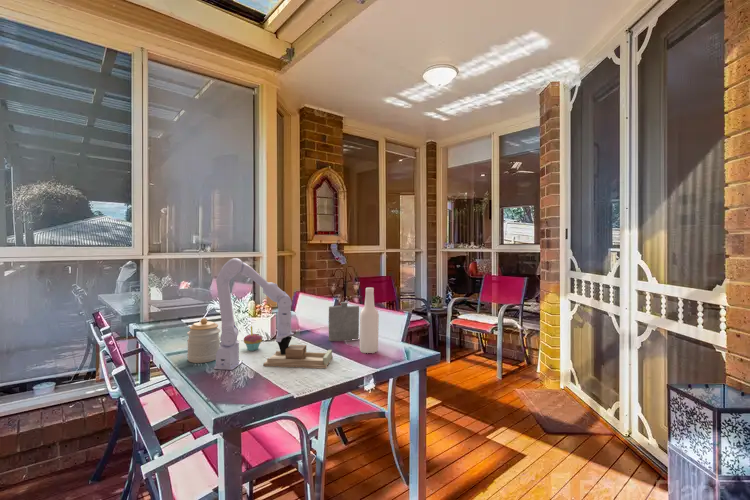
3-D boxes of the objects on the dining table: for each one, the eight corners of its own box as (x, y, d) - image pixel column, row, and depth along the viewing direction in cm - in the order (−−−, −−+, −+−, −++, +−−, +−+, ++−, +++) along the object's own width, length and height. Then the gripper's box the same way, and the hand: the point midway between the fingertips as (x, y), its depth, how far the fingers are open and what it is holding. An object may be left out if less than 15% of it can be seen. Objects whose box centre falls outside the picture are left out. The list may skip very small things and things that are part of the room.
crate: (301, 361, 154) (301, 349, 153) (285, 361, 154) (285, 349, 154) (306, 356, 161) (306, 345, 160) (290, 355, 161) (290, 344, 161)
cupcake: (258, 352, 170) (258, 326, 170) (240, 351, 170) (240, 325, 170) (264, 346, 179) (264, 322, 178) (247, 346, 179) (247, 321, 179)
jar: (207, 364, 152) (207, 322, 152) (180, 362, 155) (180, 320, 154) (226, 355, 165) (226, 316, 164) (200, 353, 167) (200, 314, 167)
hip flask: (358, 338, 197) (358, 301, 196) (359, 340, 193) (359, 302, 192) (328, 339, 193) (328, 301, 193) (329, 341, 189) (329, 302, 189)
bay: (325, 368, 149) (325, 358, 149) (263, 365, 151) (263, 356, 151) (332, 357, 163) (332, 348, 163) (275, 355, 165) (275, 346, 165)
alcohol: (355, 350, 175) (356, 287, 174) (370, 347, 180) (371, 286, 179) (366, 355, 168) (367, 289, 167) (381, 351, 173) (382, 288, 172)
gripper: (287, 326, 150) (287, 360, 150) (298, 319, 164) (298, 349, 165) (271, 326, 151) (270, 359, 151) (282, 318, 165) (282, 349, 165)
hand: (283, 354), depth 158 cm, fingers closed, pressing on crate
